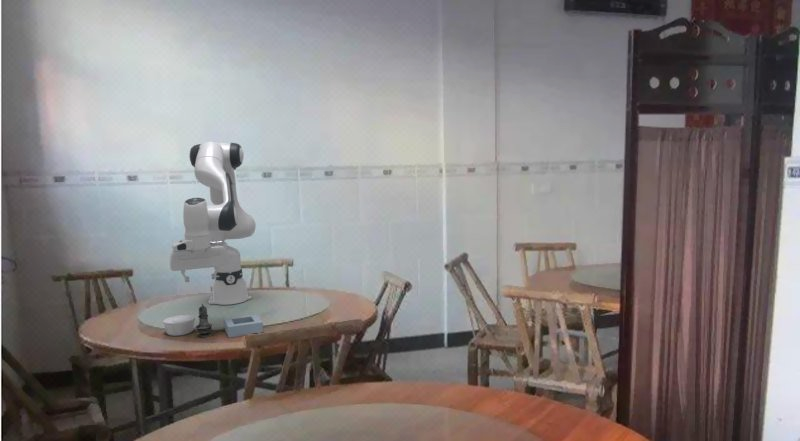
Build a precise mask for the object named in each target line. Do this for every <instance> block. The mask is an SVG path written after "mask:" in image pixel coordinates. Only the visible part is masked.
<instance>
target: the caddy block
mask: <svg viewBox="0 0 800 441" xmlns="http://www.w3.org/2000/svg"><path fill="white" fill-rule="evenodd" d="M224 328H225V329H224ZM223 329H224V331H225V333H226V335H227V337H228V339H229V338H237V337H242V336H244V337H245V336H246V335H245V334H251V333H258V334H260V333H259V332H263V333H264V322H263V321H262V320H261V318H260V316H259V315H258V314H257V313H254V314H247V315H239V316H233V317H225V318H223ZM251 335H252V334H251Z"/></svg>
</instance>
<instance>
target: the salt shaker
mask: <svg viewBox="0 0 800 441" xmlns="http://www.w3.org/2000/svg"><path fill="white" fill-rule="evenodd" d="M208 317H209V314H208V308H207V307H206V306H204V304H203V303H201V306H200V307H199V308H198V316H197V318H198V319H199V322H198V325H196V326H195V328H196V331H197V332H198V333H199V334H197V336H196V337H197V338H198V339H199V338H200V339H203V338H204V339H206V338H210V337H212V336H213V333H212V332H211V331H212V327H213V324H211V323H209V318H208Z"/></svg>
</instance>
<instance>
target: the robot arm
mask: <svg viewBox="0 0 800 441" xmlns="http://www.w3.org/2000/svg"><path fill="white" fill-rule="evenodd" d="M188 156H189V162H190V165H191V166H192V167H193V168H194V177H195V178H196V179H197V181H198V182H199V183H200V184H201V185H204V186H205V187H208V188H209V197H210V201H211V203H212V204H210V205H209V204H208V203H207V200H206V199H205V198H202V197H192V198H188V199H186V200H184V204H183V214H182V215H183V216H182V218H183V225H184V230H185V232H184V238H183V239H180V240H179V241H175V242H173V243H172V246H171V247H172V249H173V250H172V251H171V253H170V256H169V257H170V258H169V259H170V260H169V266H170V267H169V269H170V270H171V271H172V272H179V271H180V273H181V275H182V277H183V278H184V282H185V283H190V276H188V275H186V271H187V270H190V271H191V270H198V269H200V270H201V269H207V268H213V269H214V272H213V273H211V280H215V281H214V282H213V284H212V285H211V286H210V288H209V290H210V292H211V294H210V297H209V299H208V304H209V305H211V304H212V305H221V306H225V305H226V306H227V305H235V304H236V305H237V304H240V303H244V302H246V301H247V300H251V299H252V298H253V297H252V295H250V294H248V286H247V281H246V280H245V279H244V278H243V273H244V272H243V268H242V263H241V262H242V260H241V253H240V251H239V250H238V249H236V248H235V247H232V246H230V245H228V243H227V242H225V241H227V240H240V239H245V238H249V237H252V236H253V235H254V233H255V231H256V228H257V226H256V222H255V220H254V217H253V216H252V215H250V214H248V213H247V212H246V211H245V210H244V209H243V208H242V206H241V204H240V202H239V200H238V194H237V187H236V186H237V185H236V184H237V183H236V176H235V170H237V168H239V167H240V166H242V164H243V161H244V151H243V149H242V146H241V145H240V144H239V143H236V142H216V141H215V140H214V141H211V140H209V141H205V142H204V143H199V144H194V145H193V146H192V147H191V148H190V150H189V155H188Z"/></svg>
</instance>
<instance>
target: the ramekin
mask: <svg viewBox="0 0 800 441" xmlns="http://www.w3.org/2000/svg"><path fill="white" fill-rule="evenodd" d="M195 321H196V317H195V316H194V315H191V314H180V315H179V314H178V315H173V316H170V317H167V318H164V320H163V321H162V322H163V325H164V328H165V331H166V334H167V335H168V336H174V337H175V336H177V337H178V336H184V335H188V334H191V333H192V332H193V331H194V329H195Z"/></svg>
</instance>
